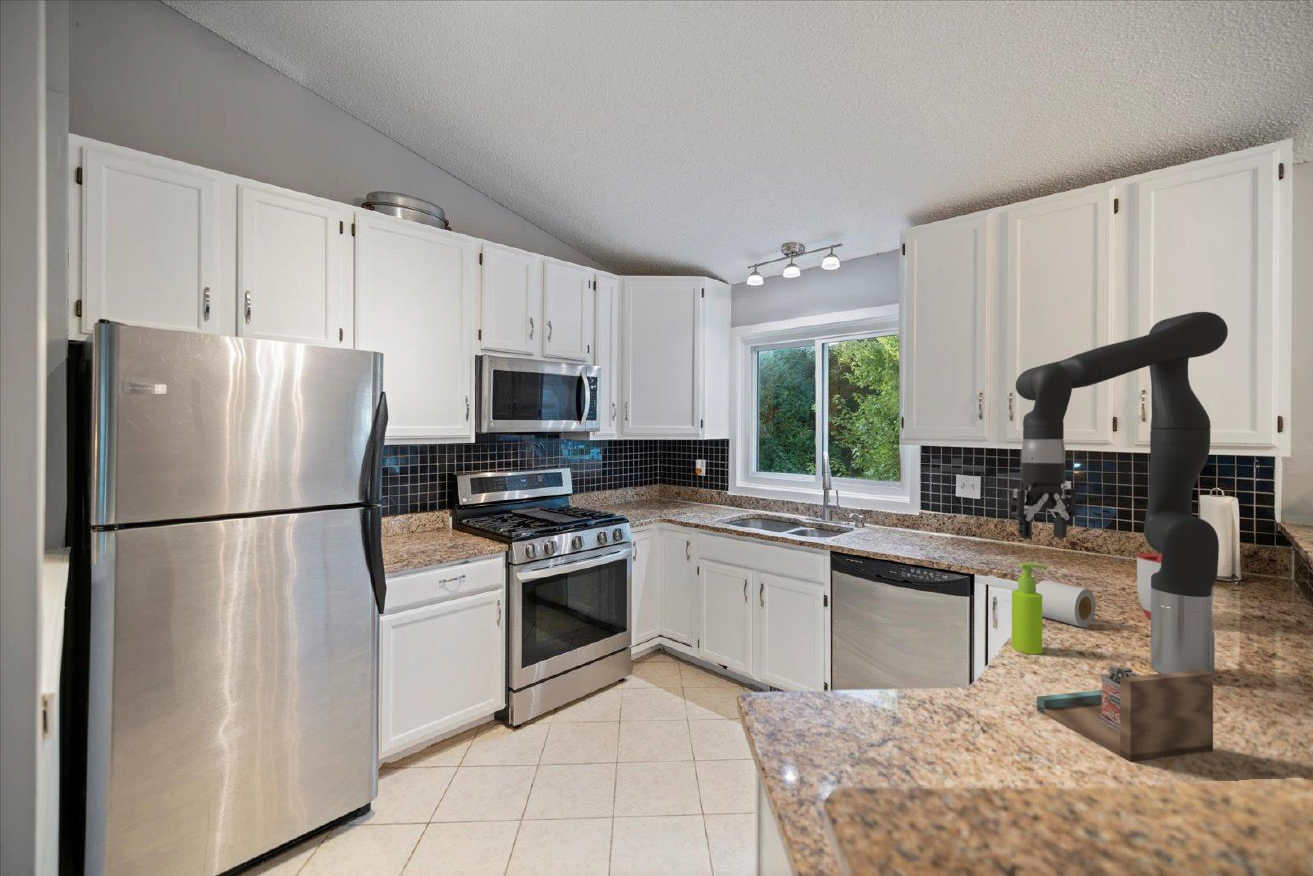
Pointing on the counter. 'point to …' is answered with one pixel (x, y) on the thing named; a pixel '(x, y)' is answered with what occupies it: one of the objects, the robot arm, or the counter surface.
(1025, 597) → the soap dispenser
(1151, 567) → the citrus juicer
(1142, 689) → the wall holder
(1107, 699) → the lighter
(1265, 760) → the counter surface
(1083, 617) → the toilet paper
